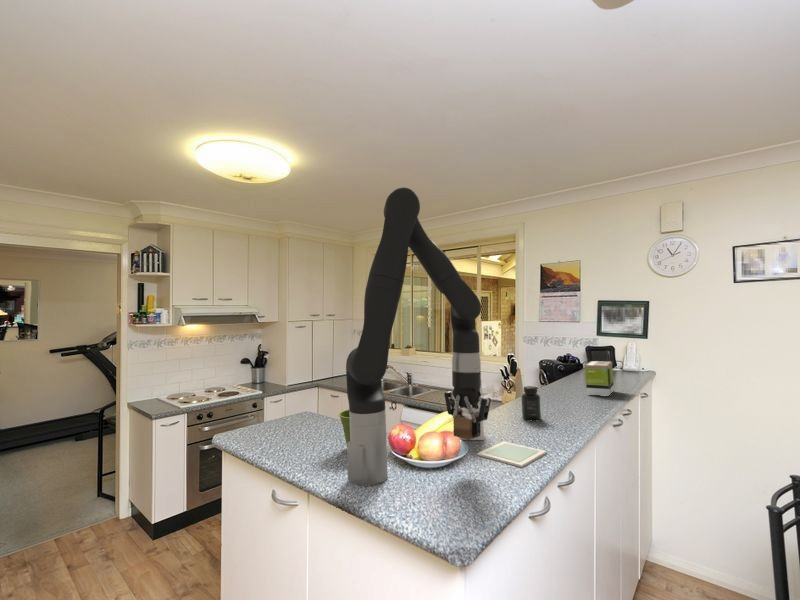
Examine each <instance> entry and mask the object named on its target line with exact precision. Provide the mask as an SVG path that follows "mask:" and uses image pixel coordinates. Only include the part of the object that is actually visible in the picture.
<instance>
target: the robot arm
mask: <svg viewBox="0 0 800 600" xmlns="http://www.w3.org/2000/svg"><path fill="white" fill-rule="evenodd" d="M420 210H421V202H420V198H419V196H418V195H417V194H416V192H415V191H414V190H412V189H411V188H409V187H405V186H403V187H398V188H396V189H394V190H393V191H392V192H391V193H390V194H389V195H388V196H387V198H386V201H385V203H384V207H383V216H384V220H383V221H384V222H383V228H382V233H381V238H380V241H379V244H378V247H377V250H376V252H375V254H374V257H373V260H372V263H371V266H370V269H369V273H368V276H367V277H368V278H367V281H366V285H365V286H366V287H365V289H364V290H365V292H364V299H363V300H364V302H363V303H364V304H363V307H364V309H363V326H362V330H361V335H360V339H359V342H358V345H357V347H355V348H354V349H352V351H350V353H349V354H348V356H347V358H346V363H345V364H346V365H345V374H346V375H345V377H346V393H347V395H346V396H347V401H348V410H349V415H350V441H349V442H347V444H346V453H347V454H346V457H347V480H348V481H349V482H350V483H353V484H356V485H358V486H361V487H367V486H375V485H378V484H381V483H384V482H386V480H388V447H387V419H386V418H387V417H386V415H387V414H386V398H385V395H384V392H383V388H382V379H383V378H384V376H385V374H386V372H387V367H388V360H389V351H390V350H389V349H390V342H391V335H392V331H393V327H394V324H395V323H394V322H395V319H396V315H397V311H398V306H399V304H400V300H401V295H402V290H403V287H404V281H405V275H406V269H407V263H408V255H409V249H410V250H411V252H412V253H413V255H414V256H415V257H416V259H417V260H418V261H419V264H421V266H422V268H423V269H424V270H425V272H426V274H427V276H428V277H429V278H430V280H431V282H432V283H433V284H434V286H435V288H436V289H437V290H438V292H440V293H441V294H442V295H444V297H445V298H446V299H447V300H448V302H449V304H450V322H451V330H452V336H453V337H452V359H451V371H452V372H451V374H452V378H451V379H452V380H451V381H452V382H451V384H452V387H453V390H451V391H445V392H444V394H443V395H444V400H445V405H446V410H447V413H448V415H451V416H452V418H454V416H458V415H462V413H463V410H464V409H465V408H466V409H468V411H469V414H471V417H472V421H473V422H472V436H473V437H477V436H479V434H480V433H481V429H480V428H481V426H480V423H481V421H483V422H484V421H487V420H488V417H489V414H490V413H489V412H490V407H491V402H492V400H491V398H490V397H485V396H483V395H482V396H481V393H480V387H481V383H482V378H481V377H482V375H481V372H482V371H481V369H482V367H481V363H482V361H481V356H480V354H481V353H480V335H479V332H478V331H477V328H476V326H477V325H476V319H477V318H478V317H479V316H480V315H481V311H482V303H481V300H480V299H479V297H478V296H477V294H476V293H475V292H474V290H473V289H472V288H471V287H470V286H469V285H468V284H467V283H466V282H465V280H464V279H463V278H462V277H461V276H460V273H459V271H458V270H457V268H456V267H455V266H454V264H453V263H452V261H451V260H450V258H449V256H448V255H447V254H446V253H445V252H444V251H443V250H442V249H441V248H440V247H439V246H438V245H437V244H436V243H435V242H434V241H433V240H432V238H430V236H429V235H428V233H426V231H425V229H424V228H423V226H422V224H421V222H420V219H419V215H420ZM479 401H480V403H479V404H480V407H479V404H478V402H479ZM473 408H475V409H473Z"/></svg>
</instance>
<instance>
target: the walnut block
mask: <svg viewBox="0 0 800 600" xmlns="http://www.w3.org/2000/svg"><path fill="white" fill-rule="evenodd" d="M472 422H473V421H472V417H471V415H469V414H462V415H458V416H454V417H453V436H454V437H456V438H464V439H467V440H466V441H471V440H470V439H473V438H476V437H473V436H472ZM479 436H481V433H480V434H479ZM479 436H477V437H479Z"/></svg>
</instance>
